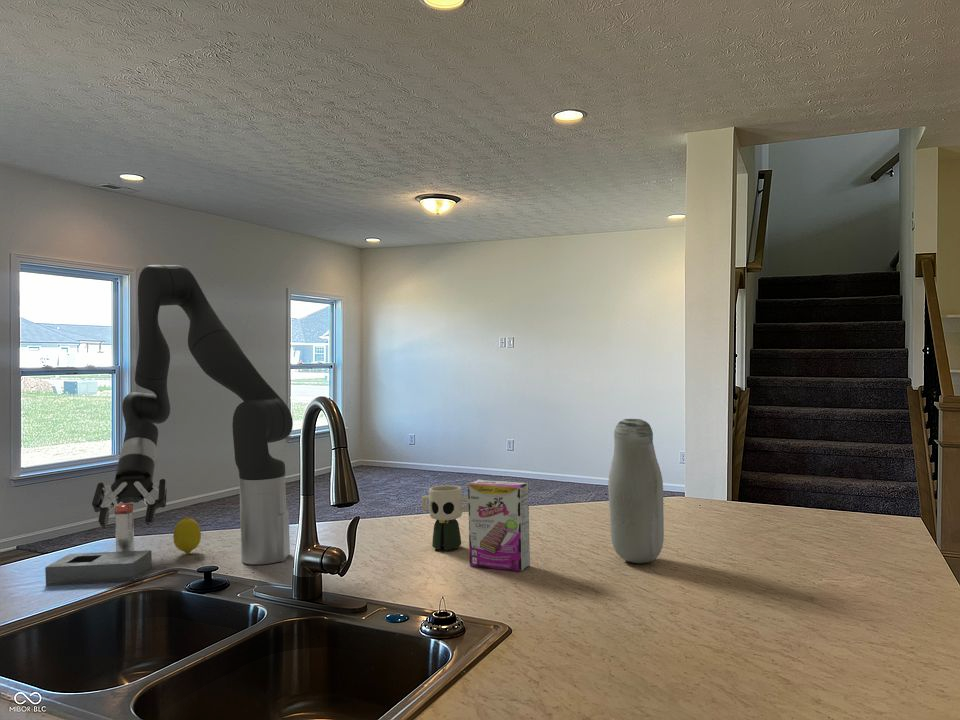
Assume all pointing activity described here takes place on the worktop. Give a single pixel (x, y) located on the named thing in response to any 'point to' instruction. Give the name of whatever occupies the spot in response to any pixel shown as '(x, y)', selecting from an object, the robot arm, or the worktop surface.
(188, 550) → the lemon
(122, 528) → the pin
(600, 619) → the worktop surface
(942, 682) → the worktop surface
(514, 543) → the candy bar box
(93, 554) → the grey block with hole
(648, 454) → the grey bottle
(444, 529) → the character mug
